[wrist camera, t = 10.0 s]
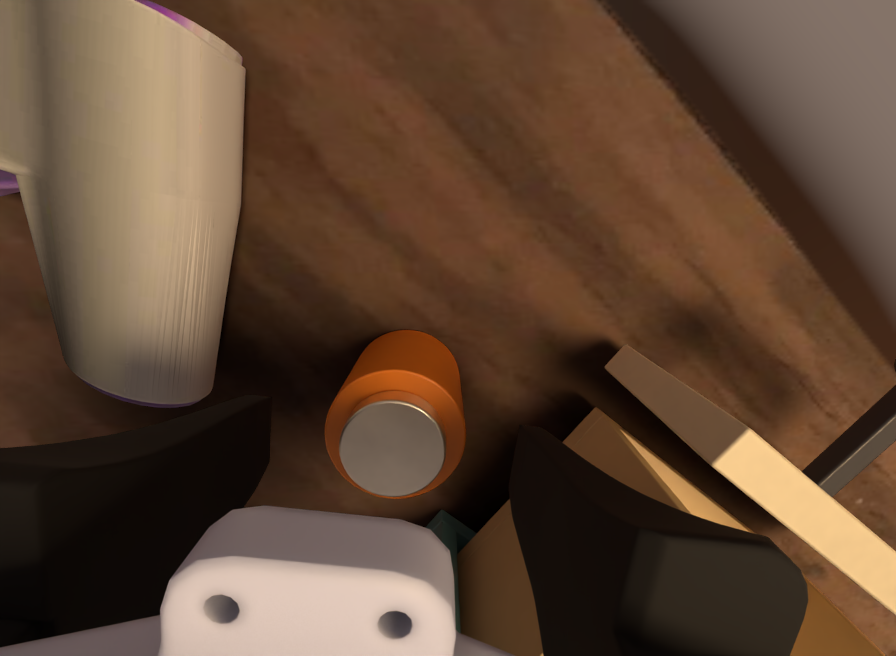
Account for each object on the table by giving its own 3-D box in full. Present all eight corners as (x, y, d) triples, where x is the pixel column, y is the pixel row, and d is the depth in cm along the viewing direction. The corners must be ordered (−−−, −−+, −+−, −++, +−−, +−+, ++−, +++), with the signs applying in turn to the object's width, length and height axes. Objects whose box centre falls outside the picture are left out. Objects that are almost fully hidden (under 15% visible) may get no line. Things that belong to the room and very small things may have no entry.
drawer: (717, 243, 16) (922, 261, 9) (930, 440, 18) (1230, 577, 11) (418, 566, 19) (406, 761, 12) (629, 705, 21) (720, 939, 14)
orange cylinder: (481, 372, 18) (498, 439, 12) (416, 447, 19) (406, 541, 13) (397, 307, 17) (376, 348, 12) (333, 388, 18) (286, 462, 13)
